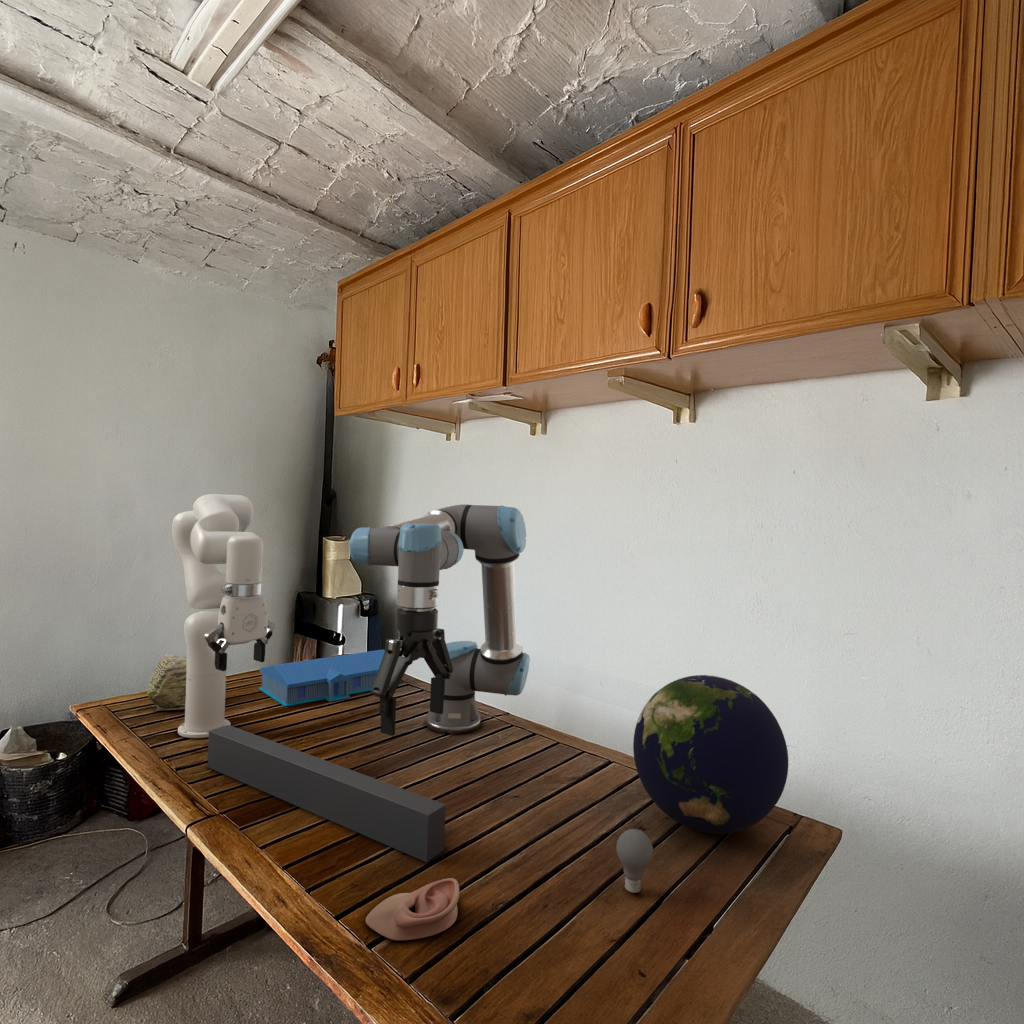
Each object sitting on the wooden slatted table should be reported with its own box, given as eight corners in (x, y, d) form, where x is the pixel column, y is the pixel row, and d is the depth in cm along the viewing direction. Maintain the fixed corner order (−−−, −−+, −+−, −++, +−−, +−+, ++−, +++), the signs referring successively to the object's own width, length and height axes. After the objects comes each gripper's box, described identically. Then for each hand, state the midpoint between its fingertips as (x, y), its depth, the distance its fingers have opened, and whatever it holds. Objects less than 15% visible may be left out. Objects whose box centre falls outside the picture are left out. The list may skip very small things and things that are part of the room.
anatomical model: (357, 906, 92) (388, 863, 104) (356, 933, 92) (387, 887, 104) (444, 922, 90) (466, 876, 101) (443, 950, 90) (465, 901, 101)
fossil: (144, 707, 182) (145, 655, 182) (212, 696, 194) (213, 647, 194) (151, 716, 175) (153, 662, 175) (221, 703, 188) (223, 653, 188)
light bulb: (610, 879, 108) (613, 822, 108) (644, 879, 109) (647, 822, 109) (619, 902, 102) (622, 840, 102) (655, 901, 103) (658, 840, 103)
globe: (615, 841, 121) (622, 685, 120) (644, 780, 148) (650, 652, 148) (786, 884, 109) (795, 711, 109) (782, 808, 137) (789, 671, 136)
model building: (289, 709, 186) (291, 675, 185) (258, 688, 204) (259, 657, 204) (403, 687, 212) (405, 657, 212) (366, 670, 230) (368, 643, 230)
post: (207, 767, 146) (208, 730, 145) (227, 760, 150) (228, 724, 150) (426, 862, 111) (428, 815, 111) (444, 850, 116) (446, 804, 115)
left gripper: (218, 596, 133) (214, 677, 134) (286, 588, 148) (283, 660, 149) (197, 592, 137) (194, 670, 138) (265, 584, 152) (262, 655, 152)
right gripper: (385, 620, 103) (380, 749, 104) (473, 601, 124) (469, 708, 125) (352, 614, 107) (348, 738, 108) (443, 597, 128) (439, 700, 129)
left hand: (240, 665), depth 143 cm, fingers open, 9 cm apart
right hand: (413, 722), depth 116 cm, fingers open, 13 cm apart
